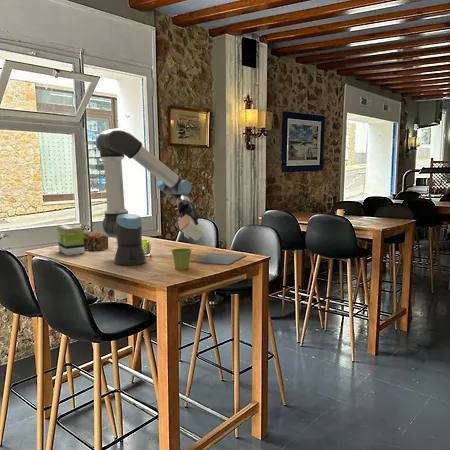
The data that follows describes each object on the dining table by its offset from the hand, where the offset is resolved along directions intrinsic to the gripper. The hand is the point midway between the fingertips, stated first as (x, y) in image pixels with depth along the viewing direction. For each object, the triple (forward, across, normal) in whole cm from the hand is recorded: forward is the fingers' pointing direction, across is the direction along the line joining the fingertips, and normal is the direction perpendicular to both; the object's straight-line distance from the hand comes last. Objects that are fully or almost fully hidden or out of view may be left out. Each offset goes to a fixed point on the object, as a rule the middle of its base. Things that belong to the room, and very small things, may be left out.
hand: (191, 233), depth 217 cm
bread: (-32, +61, +14) cm, 70 cm away
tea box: (-24, +63, +25) cm, 72 cm away
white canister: (-5, 0, -7) cm, 9 cm away
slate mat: (+11, -2, -16) cm, 19 cm away
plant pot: (+24, +6, +6) cm, 26 cm away
